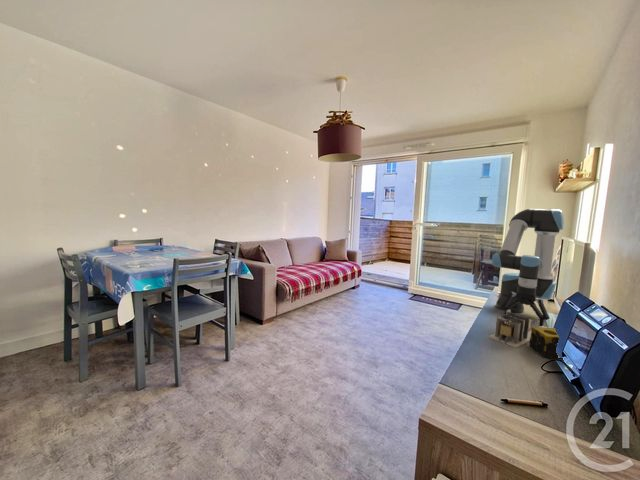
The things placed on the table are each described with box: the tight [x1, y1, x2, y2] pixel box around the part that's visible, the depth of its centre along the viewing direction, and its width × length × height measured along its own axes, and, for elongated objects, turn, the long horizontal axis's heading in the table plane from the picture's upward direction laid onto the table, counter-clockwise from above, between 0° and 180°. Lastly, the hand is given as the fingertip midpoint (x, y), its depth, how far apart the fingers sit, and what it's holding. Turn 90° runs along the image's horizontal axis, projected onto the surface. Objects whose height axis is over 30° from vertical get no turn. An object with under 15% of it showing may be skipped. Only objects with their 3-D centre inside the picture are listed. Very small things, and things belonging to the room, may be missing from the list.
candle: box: [528, 326, 559, 359], centre depth 121 cm, size 10×10×10 cm
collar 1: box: [500, 313, 524, 342], centre depth 134 cm, size 1×10×11 cm, turn 33°
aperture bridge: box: [494, 316, 521, 344], centre depth 132 cm, size 2×9×10 cm, turn 33°
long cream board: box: [489, 319, 548, 349], centre depth 141 cm, size 40×12×3 cm, turn 123°
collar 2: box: [505, 312, 531, 339], centre depth 137 cm, size 1×10×11 cm, turn 33°
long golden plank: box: [500, 318, 532, 337], centre depth 136 cm, size 22×4×4 cm, turn 123°
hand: (522, 326), depth 141 cm, fingers open, 13 cm apart
